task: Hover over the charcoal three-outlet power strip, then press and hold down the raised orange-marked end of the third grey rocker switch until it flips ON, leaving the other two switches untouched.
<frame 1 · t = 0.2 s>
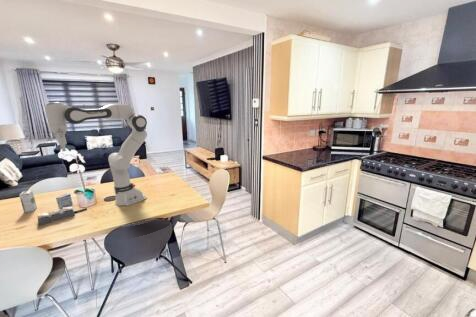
hand: (63, 149, 145), 47 cm above the table, tool pointing down, fingers open, 8 cm apart
power strip: (57, 218, 154), on the table
syrup box: (30, 210, 166), on the table
rocker 2: (55, 212, 152), point 5 cm above the table, hinge at 14.0°
rocker 3: (43, 215, 148), point 5 cm above the table, hinge at -14.0°
medicine box: (65, 206, 171), on the table
rocker 1: (67, 209, 156), point 5 cm above the table, hinge at -14.0°
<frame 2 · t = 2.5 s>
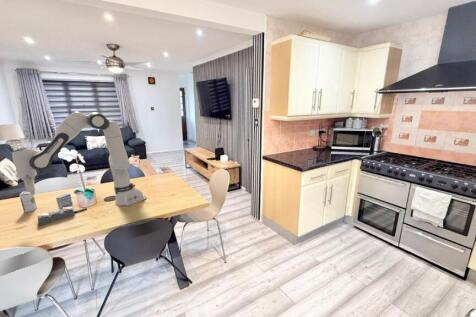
hand: (33, 194, 142), 21 cm above the table, tool pointing down, fingers closed
nothing on the table moved.
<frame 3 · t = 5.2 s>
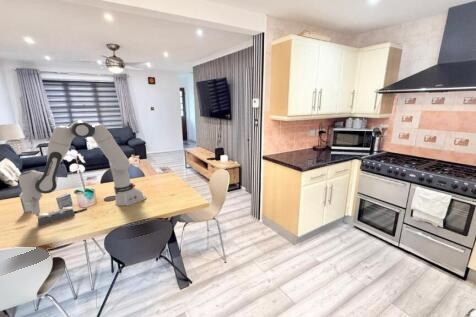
hand: (37, 215, 146), 6 cm above the table, tool pointing down, fingers closed, pressing on rocker 3
rocker 3: (43, 215, 148), point 5 cm above the table, hinge at -13.5°, touching gripper
everything else where it was.
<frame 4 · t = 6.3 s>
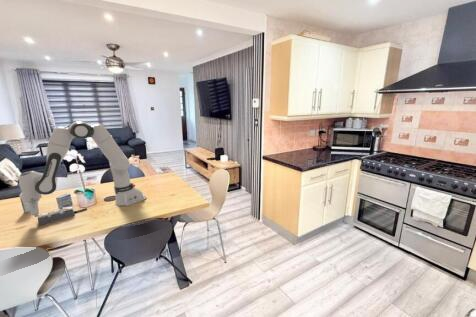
hand: (36, 215, 145), 6 cm above the table, tool pointing down, fingers closed, pressing on rocker 3
rocker 3: (43, 215, 148), point 5 cm above the table, hinge at 0.9°, touching gripper
everything else where it was.
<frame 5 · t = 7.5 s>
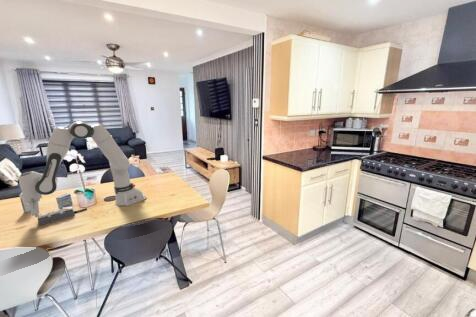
hand: (36, 216, 146), 6 cm above the table, tool pointing down, fingers closed, pressing on rocker 3
rocker 3: (43, 215, 148), point 5 cm above the table, hinge at 5.8°, touching gripper
everything else where it was.
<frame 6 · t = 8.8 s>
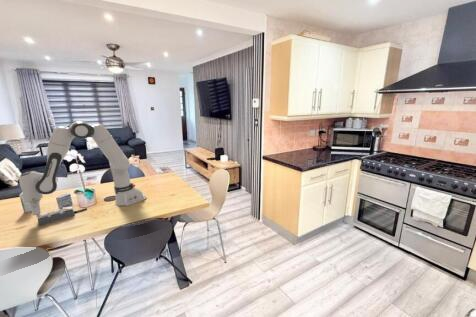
hand: (38, 215, 146), 6 cm above the table, tool pointing down, fingers closed
rocker 3: (43, 215, 148), point 5 cm above the table, hinge at 8.8°
everything else where it was.
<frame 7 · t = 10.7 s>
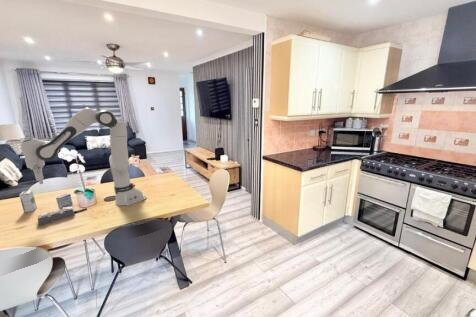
hand: (41, 183, 148), 25 cm above the table, tool pointing down, fingers closed
rocker 3: (43, 215, 148), point 5 cm above the table, hinge at 11.7°
everything else where it was.
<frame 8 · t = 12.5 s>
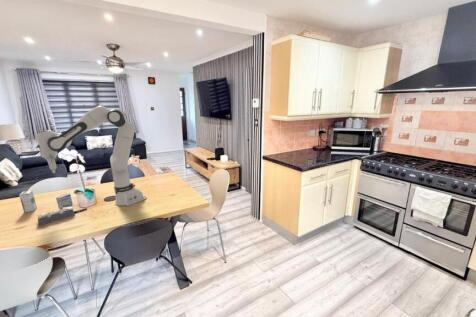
hand: (54, 172, 158), 29 cm above the table, tool pointing down, fingers closed
rocker 3: (43, 215, 148), point 5 cm above the table, hinge at 13.4°
everything else where it was.
at the end: rocker 3 at +14° (first picture: -14°); rocker 2 at +14° (first picture: +14°); rocker 1 at -14° (first picture: -14°) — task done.
